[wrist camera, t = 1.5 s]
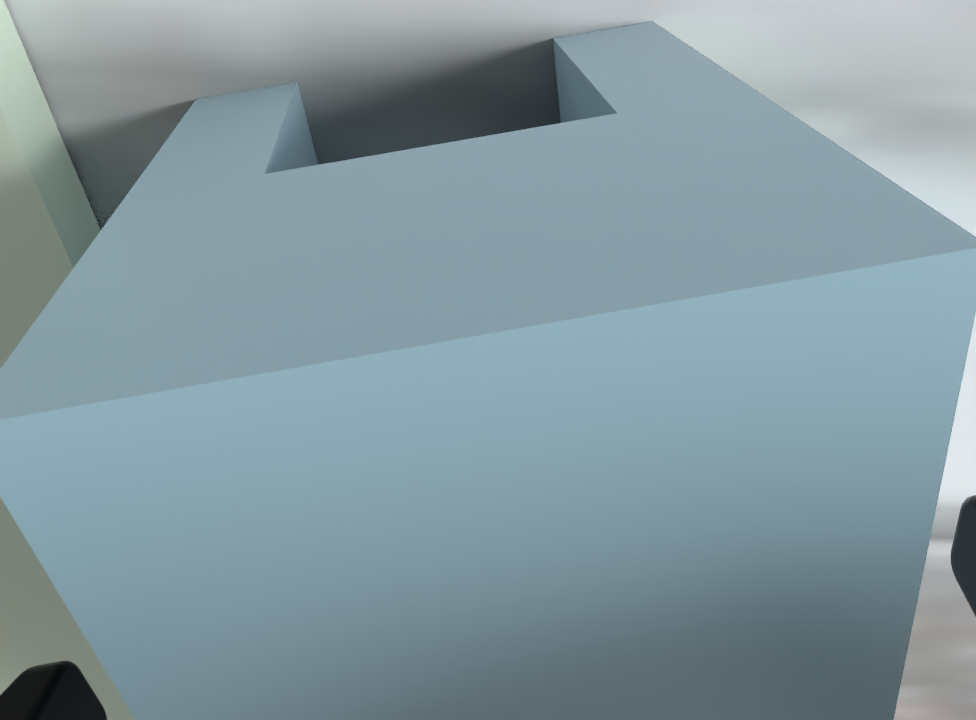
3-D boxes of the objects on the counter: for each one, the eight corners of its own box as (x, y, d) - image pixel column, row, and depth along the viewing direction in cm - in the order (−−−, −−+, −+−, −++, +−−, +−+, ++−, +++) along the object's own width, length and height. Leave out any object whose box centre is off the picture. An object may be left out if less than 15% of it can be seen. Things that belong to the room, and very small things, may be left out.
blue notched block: (669, 587, 14) (833, 1015, 9) (373, 641, 14) (367, 1105, 9) (651, 20, 9) (987, 246, 4) (196, 97, 9) (-41, 427, 4)
